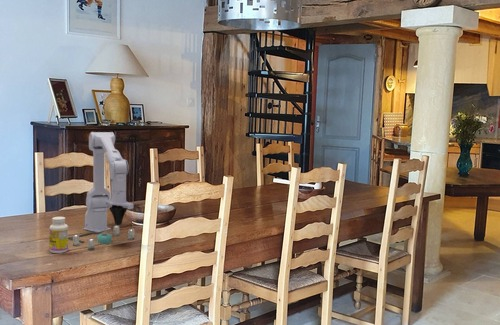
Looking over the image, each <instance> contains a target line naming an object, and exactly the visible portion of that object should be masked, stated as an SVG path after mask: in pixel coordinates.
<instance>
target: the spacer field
mask: <svg viewBox="0 0 500 325" xmlns="http://www.w3.org/2000/svg"><path fill="white" fill-rule="evenodd" d="M112 231H113V235H112V236H114V237H119V236H120V225H113V230H112ZM127 233H128V235H127V237H128V240H135V228H128V232H127ZM79 235H80V234H73V235H72V237H73V240H72V246H73V247H79V246H80V242H79V240H80V237H79ZM118 235H119V236H118ZM95 240H96V239H95V238H93V237H92V238H88V239H87V250H89V251H93V250H95Z"/></svg>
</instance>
